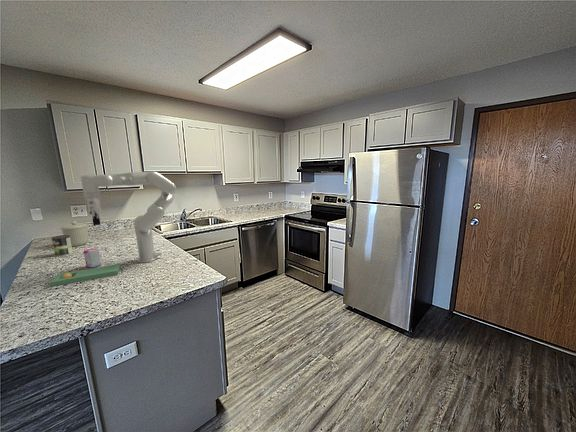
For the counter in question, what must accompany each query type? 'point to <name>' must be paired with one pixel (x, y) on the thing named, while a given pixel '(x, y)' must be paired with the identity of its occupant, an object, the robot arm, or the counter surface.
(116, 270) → the green
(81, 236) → the canister
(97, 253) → the supplement box
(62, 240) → the coffee can
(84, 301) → the counter surface
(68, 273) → the ball
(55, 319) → the counter surface
